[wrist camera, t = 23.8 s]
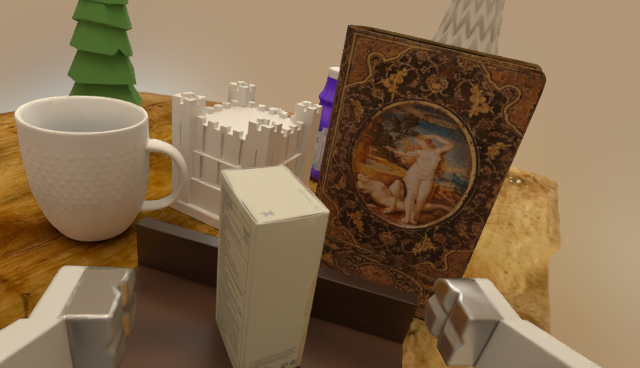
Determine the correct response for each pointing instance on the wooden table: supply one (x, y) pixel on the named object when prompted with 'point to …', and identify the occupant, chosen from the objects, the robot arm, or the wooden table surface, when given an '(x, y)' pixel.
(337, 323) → the shelf
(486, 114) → the book
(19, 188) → the wooden table surface
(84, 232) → the mug
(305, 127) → the castle model
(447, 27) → the vase
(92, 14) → the decorative tree
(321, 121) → the bottle
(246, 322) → the cosmetic box
